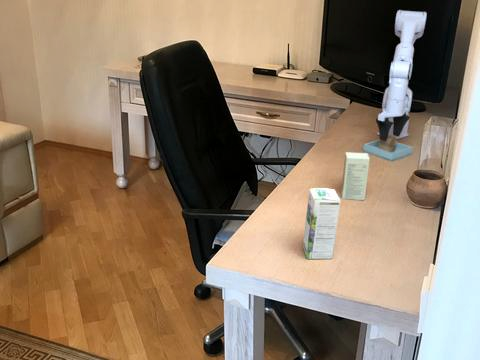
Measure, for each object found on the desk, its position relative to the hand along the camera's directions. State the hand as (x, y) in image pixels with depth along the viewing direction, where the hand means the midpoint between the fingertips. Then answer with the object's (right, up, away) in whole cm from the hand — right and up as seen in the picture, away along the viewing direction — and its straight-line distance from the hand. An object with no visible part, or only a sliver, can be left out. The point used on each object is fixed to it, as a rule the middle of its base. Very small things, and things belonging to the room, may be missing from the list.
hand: (389, 137), depth 176 cm
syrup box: (-33, -30, -59) cm, 74 cm away
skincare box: (-19, -19, -31) cm, 41 cm away
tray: (0, -5, +2) cm, 5 cm away
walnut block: (0, -4, +2) cm, 5 cm away
